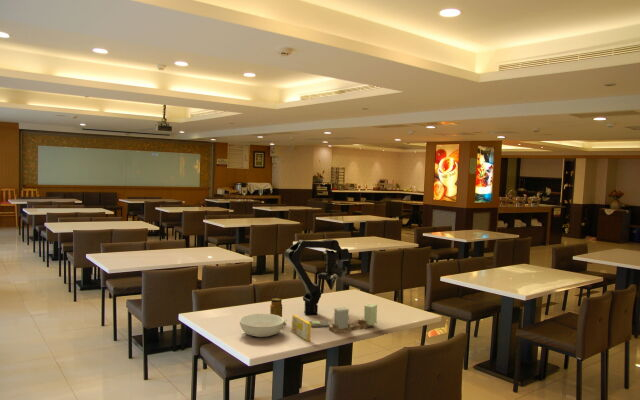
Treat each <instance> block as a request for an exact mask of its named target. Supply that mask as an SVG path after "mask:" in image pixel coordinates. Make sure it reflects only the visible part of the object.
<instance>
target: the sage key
mask: <svg viewBox="0 0 640 400" xmlns="http://www.w3.org/2000/svg"><path fill="white" fill-rule="evenodd" d="M363 308H364V313H363V314H364V316H363V320H364V321H367V325H371V326H373V325H375V324H377V322H378V321H377V317H378V315H377V314H378V304H376V303H370V302H369V303H366V304H365V305H363Z"/></svg>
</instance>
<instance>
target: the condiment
mask: <svg viewBox="0 0 640 400" xmlns="http://www.w3.org/2000/svg"><path fill="white" fill-rule="evenodd" d="M282 303H283V302H282V299H281V298H279V297H275V298H274V297H273V298H272V299H271V301H270V307H269V308H270V309H269V311H270V313H269V314H273V315H278V316H280V317H282V318H283V304H282ZM284 325H287V320H286V319H284Z"/></svg>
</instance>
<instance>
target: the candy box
mask: <svg viewBox="0 0 640 400" xmlns="http://www.w3.org/2000/svg"><path fill="white" fill-rule="evenodd" d="M291 332H292V333H293V334H295V335H296V336H298V337H300V338H302V339H303V340H304V341H306V342H310V341H311V340H312V339H311V337H312V336H311V335H312V328H311V323H310V322H309V321H308V320H306V319H304V318H302V317H300V316H299V315H297V314H292V317H291Z"/></svg>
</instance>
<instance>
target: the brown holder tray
mask: <svg viewBox="0 0 640 400" xmlns="http://www.w3.org/2000/svg"><path fill="white" fill-rule="evenodd" d="M331 324H332V325H330V327H328V330H329V331H331V332H333V334H341V333H348V332H351V331H352V330H353V331H354V330H358V329H364V330H365V329H367V328H369V327H371V326H372V325H367V321H364V318H363V319H362V318H361V319H358V320H357V321H355V322H348V328H345V329H338V326H337V325H335V324H334V323H331Z"/></svg>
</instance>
